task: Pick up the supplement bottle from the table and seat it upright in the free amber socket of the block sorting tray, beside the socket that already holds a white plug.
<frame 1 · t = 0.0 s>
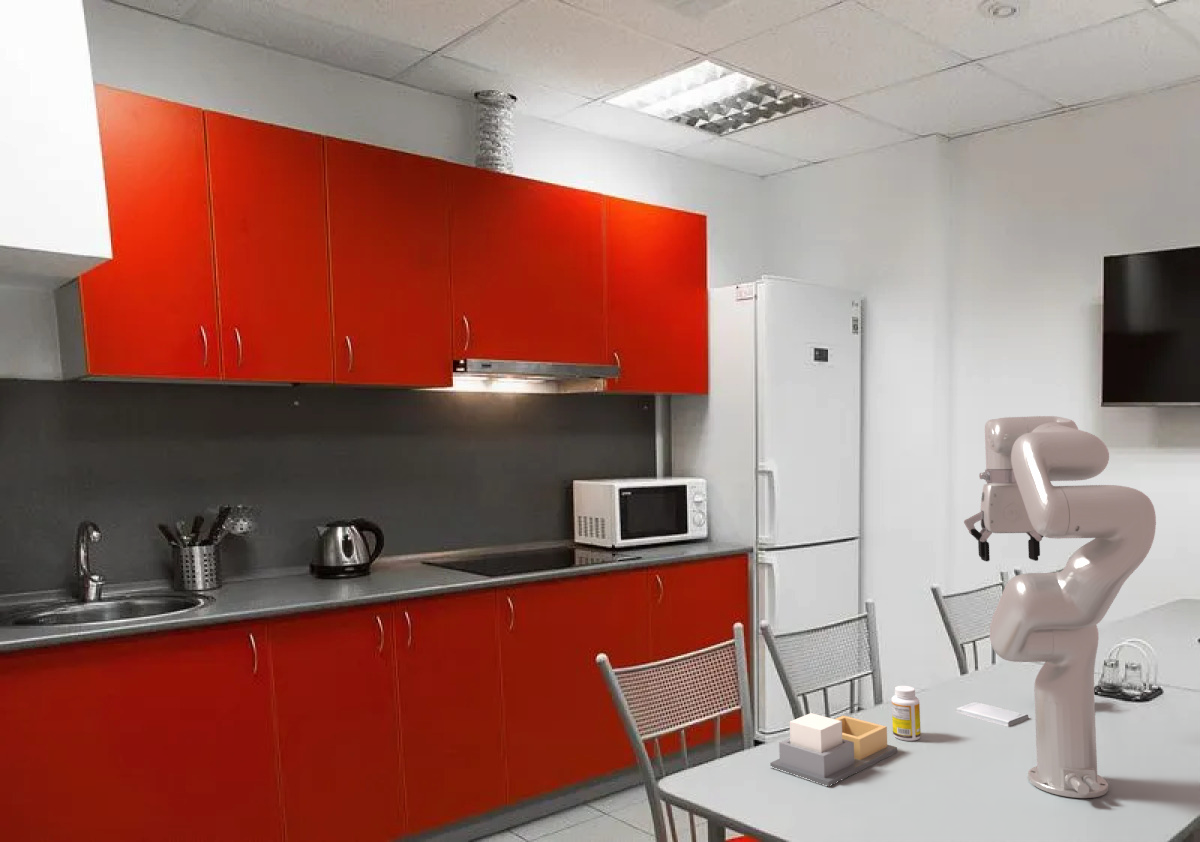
hand: (1009, 560, 179), 37 cm above the table, tool pointing down, fingers open, 9 cm apart
supplement bottle: (906, 738, 180), on the table
block sorting tray: (834, 759, 169), on the table
hard drive: (991, 718, 192), on the table
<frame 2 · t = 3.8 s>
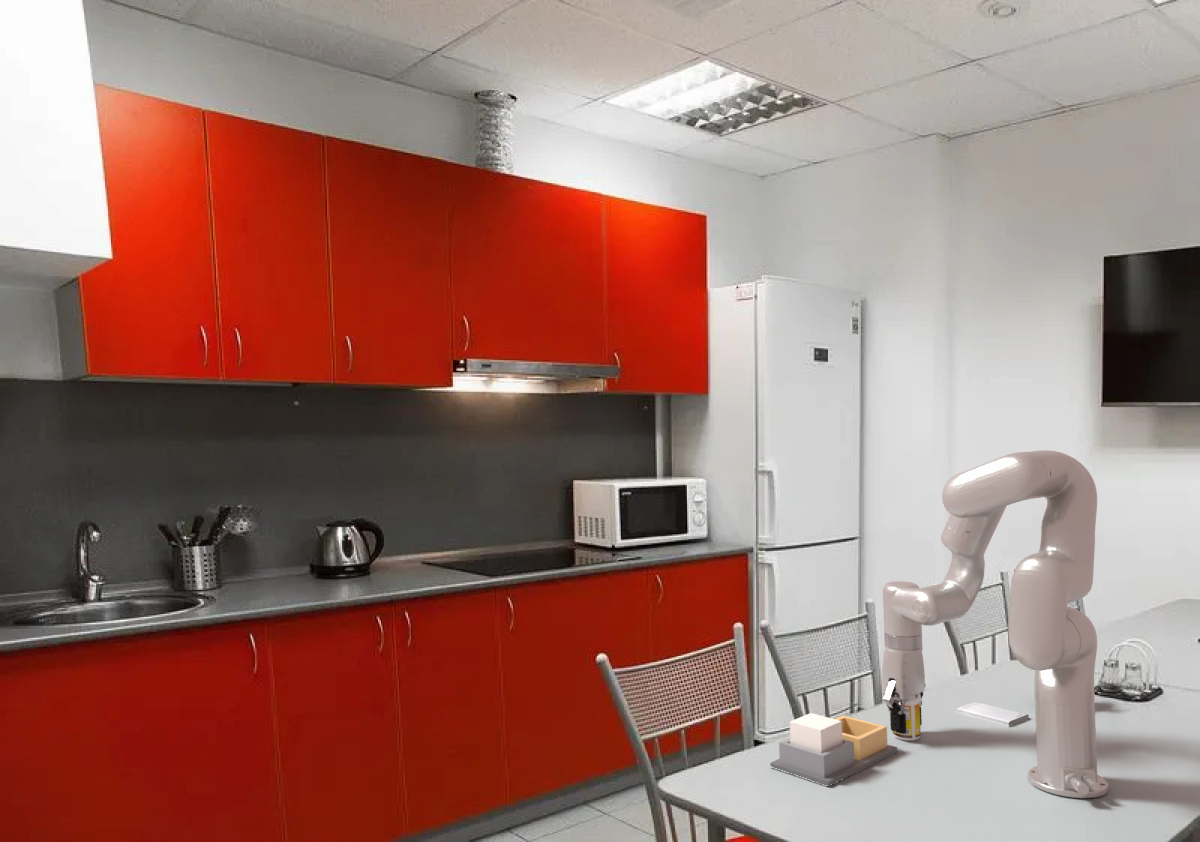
hand: (906, 727, 180), 2 cm above the table, tool pointing down, fingers closed on supplement bottle, 5 cm apart
supplement bottle: (906, 738, 180), on the table, touching gripper
everything else where it was.
when the fingers open (6 cm above the table, at t = 9.8 s): supplement bottle drops 3 cm, resting on block sorting tray.
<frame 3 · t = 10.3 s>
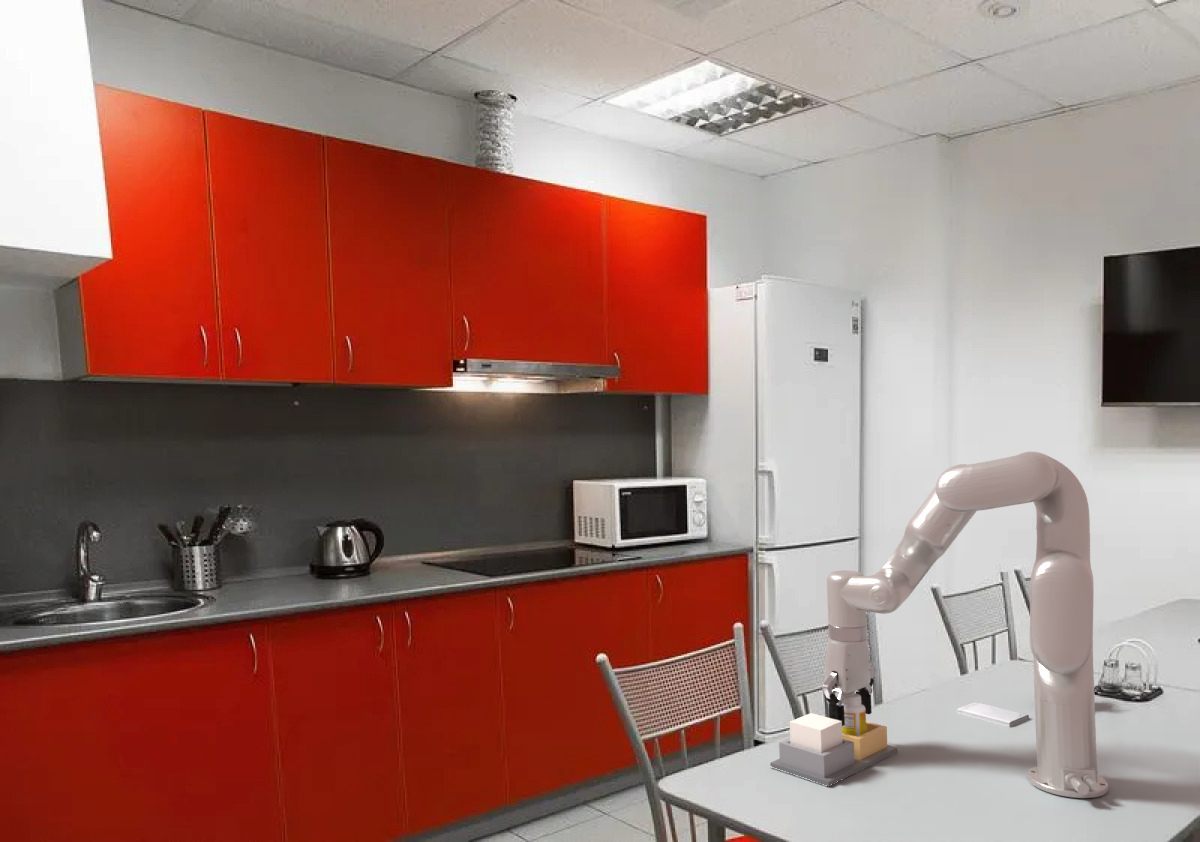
hand: (850, 718, 173), 7 cm above the table, tool pointing down, fingers open, 9 cm apart
supplement bottle: (852, 747, 173), point 1 cm above the table, touching block sorting tray
everything else where it was.
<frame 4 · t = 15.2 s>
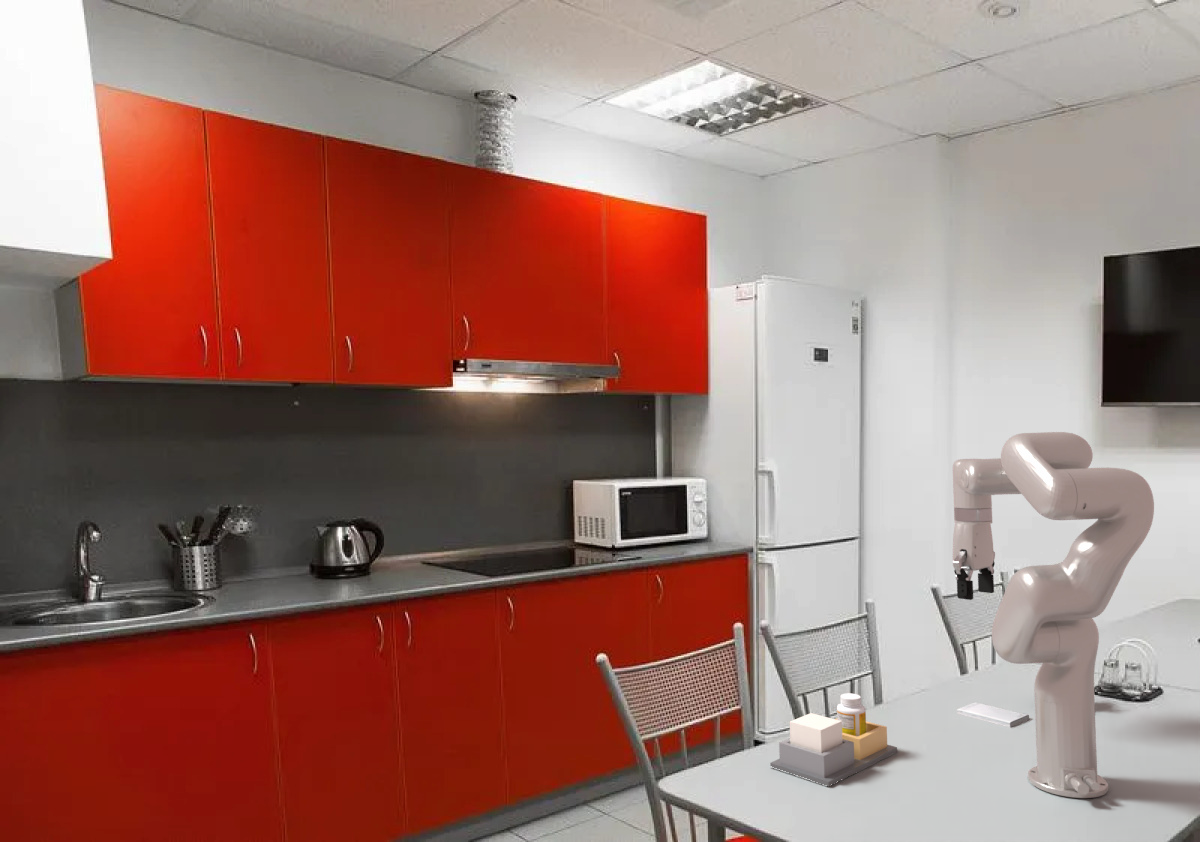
hand: (976, 595, 185), 28 cm above the table, tool pointing down, fingers open, 9 cm apart
nothing on the table moved.
at the end: supplement bottle 0.2 cm from the target spot, point 0.8 cm above the table; supplement bottle tilted 0°; the gripper is holding nothing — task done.
